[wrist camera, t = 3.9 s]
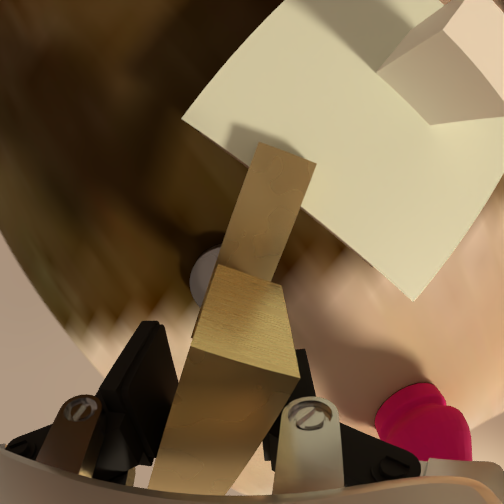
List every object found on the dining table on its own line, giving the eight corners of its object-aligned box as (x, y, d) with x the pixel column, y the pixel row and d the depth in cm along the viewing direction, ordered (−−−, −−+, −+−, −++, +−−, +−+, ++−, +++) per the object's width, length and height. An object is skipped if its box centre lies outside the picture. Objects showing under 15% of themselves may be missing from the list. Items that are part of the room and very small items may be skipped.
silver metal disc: (220, 227, 18) (218, 231, 17) (281, 272, 19) (283, 278, 18) (179, 284, 19) (175, 291, 18) (237, 324, 20) (236, 332, 19)
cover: (350, -49, 9) (390, -124, 3) (518, 115, 11) (602, 113, 5) (188, 122, 12) (130, 90, 6) (402, 291, 14) (473, 365, 8)
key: (257, 149, 16) (265, 108, 4) (294, 163, 16) (403, 168, 4) (192, 337, 19) (135, 521, 7) (223, 348, 19) (194, 537, 7)
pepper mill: (352, 419, 22) (413, 639, 3) (422, 362, 21) (547, 571, 1) (393, 445, 23) (453, 616, 4) (453, 398, 22) (549, 559, 3)
